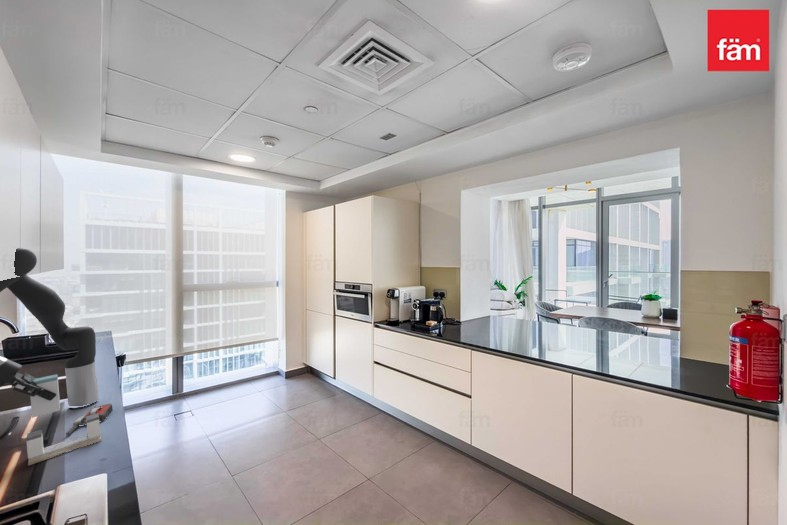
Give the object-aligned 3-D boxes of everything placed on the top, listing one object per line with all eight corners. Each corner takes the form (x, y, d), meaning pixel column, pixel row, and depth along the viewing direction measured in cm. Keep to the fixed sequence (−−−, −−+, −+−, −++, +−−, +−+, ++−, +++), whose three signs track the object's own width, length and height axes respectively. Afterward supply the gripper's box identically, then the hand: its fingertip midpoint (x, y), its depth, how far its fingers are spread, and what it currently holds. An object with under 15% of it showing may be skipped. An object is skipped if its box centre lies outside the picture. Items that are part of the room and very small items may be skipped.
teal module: (33, 413, 104) (30, 379, 104) (60, 406, 108) (57, 374, 108) (32, 417, 101) (29, 382, 101) (59, 410, 105) (56, 376, 105)
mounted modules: (29, 453, 99) (27, 433, 99) (99, 430, 110) (98, 413, 110) (28, 458, 96) (26, 438, 96) (100, 434, 107) (99, 416, 107)
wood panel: (30, 456, 100) (29, 454, 100) (99, 433, 111) (99, 431, 111) (28, 465, 95) (27, 463, 95) (101, 440, 106) (101, 438, 106)
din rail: (30, 454, 99) (30, 452, 99) (98, 432, 110) (98, 430, 110) (29, 461, 96) (28, 458, 96) (100, 437, 107) (99, 435, 107)
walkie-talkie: (86, 415, 128) (63, 439, 110) (85, 404, 128) (62, 426, 110) (114, 409, 132) (97, 431, 114) (113, 398, 132) (96, 418, 114)
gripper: (2, 362, 94) (64, 390, 103) (9, 354, 104) (65, 380, 113) (-26, 386, 90) (41, 412, 99) (-16, 376, 100) (44, 400, 109)
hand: (54, 395), depth 106 cm, fingers closed on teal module, 4 cm apart
